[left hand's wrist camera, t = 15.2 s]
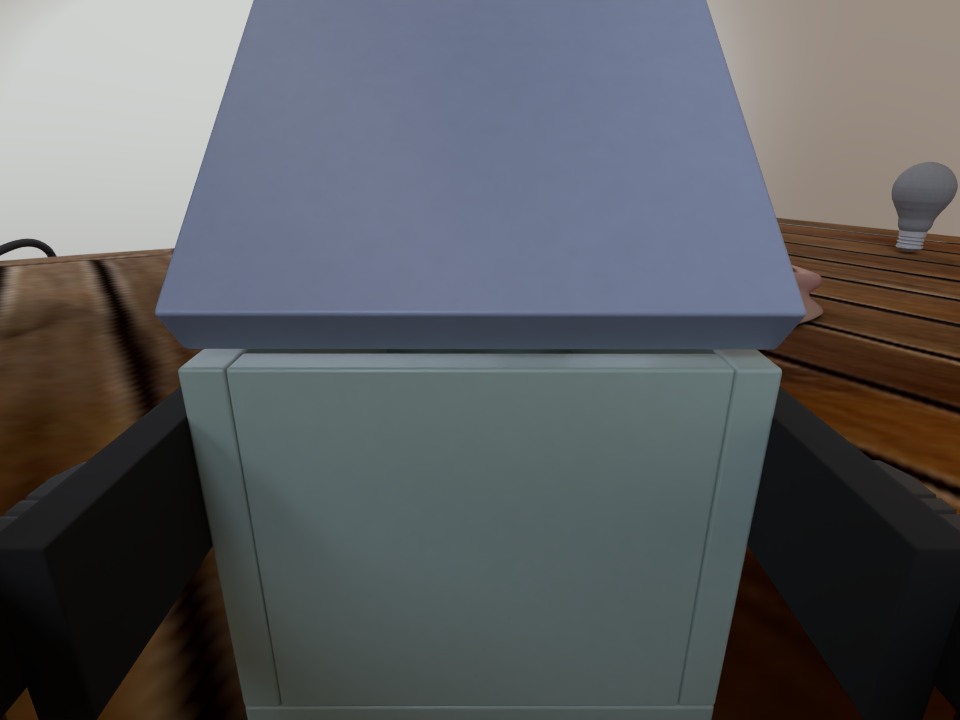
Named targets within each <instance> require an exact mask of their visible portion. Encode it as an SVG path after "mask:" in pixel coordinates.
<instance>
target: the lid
mask: <svg viewBox="0 0 960 720" xmlns="http://www.w3.org/2000/svg"><path fill="white" fill-rule="evenodd" d="M155 315H156V316H157V318H158V319H159V320H160V321H161V322H162V323H163V324H164V325H165V327H166V328H167V329H168V330H169V331H170V332H171V333H172V335H173V336H174V337H175V338H176V339H177V340H178V341H179V343H180V344H181V345H182V346H183V347H184V348H187V349H775V348H777V347H778V346H779V345H780V344H781V343H782V342H783V341H784V339H785V338H786V337H787V336H788V335H789V334H790V333H791V332H792V331H793V329H794V328H795V327H796V326H797V325H798V324H799V323H800V322H801V320H802V319H803V318H804V317H805V316H806V309H805V306H804V303H803V300H802V297H801V293H800V290H799V287H798V284H797V281H796V278H795V275H794V272H793V269H792V265H791V262H790V259H789V256H788V253H787V250H786V247H785V244H784V241H783V238H782V234H781V231H780V228H779V225H778V222H777V219H776V216H775V213H774V210H773V207H772V203H771V200H770V197H769V194H768V191H767V188H766V185H765V182H764V179H763V176H762V172H761V169H760V166H759V163H758V160H757V157H756V154H755V151H754V148H753V144H752V141H751V138H750V135H749V132H748V129H747V126H746V123H745V120H744V116H743V113H742V110H741V107H740V104H739V101H738V98H737V95H736V92H735V89H734V85H733V82H732V79H731V76H730V73H729V70H728V67H727V64H726V60H725V57H724V54H723V51H722V48H721V45H720V42H719V39H718V36H717V33H716V29H715V26H714V23H713V20H712V17H711V14H710V11H709V8H708V5H707V1H706V0H254V1H253V4H252V7H251V10H250V14H249V17H248V20H247V23H246V26H245V29H244V32H243V36H242V39H241V42H240V45H239V48H238V51H237V54H236V58H235V61H234V64H233V67H232V70H231V73H230V76H229V80H228V83H227V86H226V89H225V92H224V95H223V98H222V101H221V105H220V108H219V111H218V114H217V117H216V120H215V123H214V127H213V130H212V133H211V136H210V139H209V142H208V145H207V149H206V152H205V155H204V158H203V161H202V164H201V167H200V171H199V174H198V177H197V180H196V183H195V186H194V189H193V192H192V196H191V199H190V202H189V205H188V208H187V211H186V214H185V218H184V221H183V224H182V227H181V230H180V233H179V237H178V240H177V243H176V246H175V249H174V252H173V255H172V258H171V262H170V265H169V268H168V271H167V274H166V277H165V280H164V284H163V287H162V290H161V293H160V296H159V299H158V302H157V306H156V309H155Z"/></svg>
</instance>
